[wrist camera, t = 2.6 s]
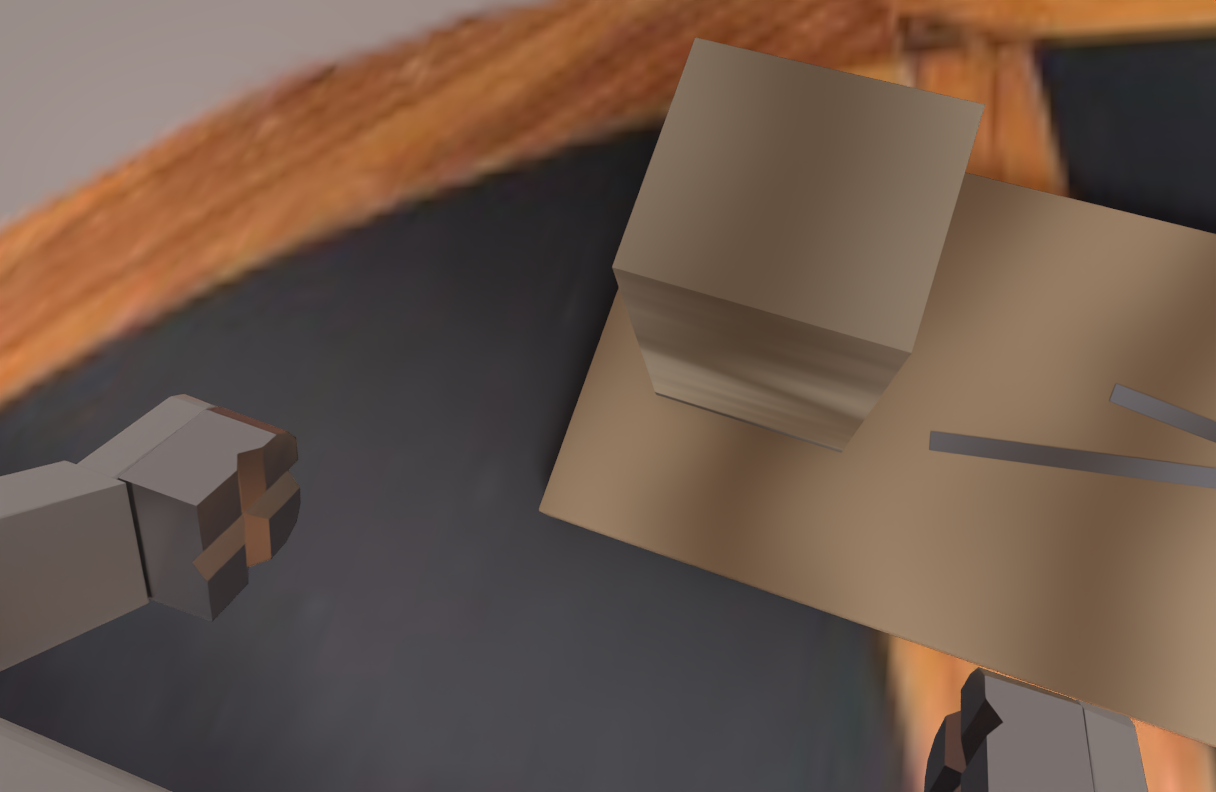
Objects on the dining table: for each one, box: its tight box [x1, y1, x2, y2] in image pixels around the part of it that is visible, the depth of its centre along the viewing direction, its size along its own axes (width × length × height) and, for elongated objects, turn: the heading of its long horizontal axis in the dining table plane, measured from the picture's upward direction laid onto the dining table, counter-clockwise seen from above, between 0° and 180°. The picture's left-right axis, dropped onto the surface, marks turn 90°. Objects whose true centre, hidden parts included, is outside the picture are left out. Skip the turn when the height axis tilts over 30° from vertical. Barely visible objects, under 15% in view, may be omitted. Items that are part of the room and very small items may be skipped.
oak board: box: [539, 172, 1216, 747], centre depth 21 cm, size 26×11×1 cm, turn 71°
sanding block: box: [612, 37, 985, 452], centre depth 18 cm, size 4×4×8 cm
